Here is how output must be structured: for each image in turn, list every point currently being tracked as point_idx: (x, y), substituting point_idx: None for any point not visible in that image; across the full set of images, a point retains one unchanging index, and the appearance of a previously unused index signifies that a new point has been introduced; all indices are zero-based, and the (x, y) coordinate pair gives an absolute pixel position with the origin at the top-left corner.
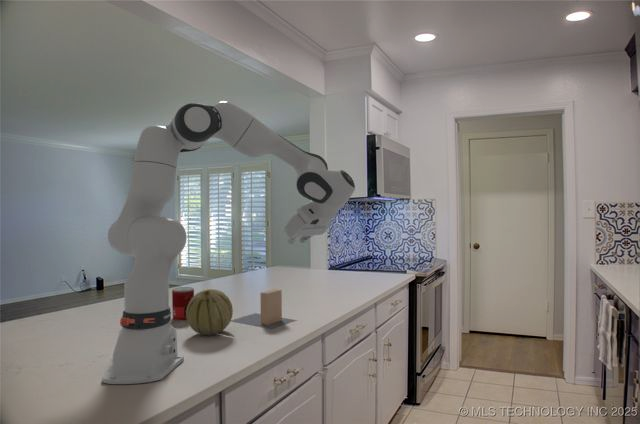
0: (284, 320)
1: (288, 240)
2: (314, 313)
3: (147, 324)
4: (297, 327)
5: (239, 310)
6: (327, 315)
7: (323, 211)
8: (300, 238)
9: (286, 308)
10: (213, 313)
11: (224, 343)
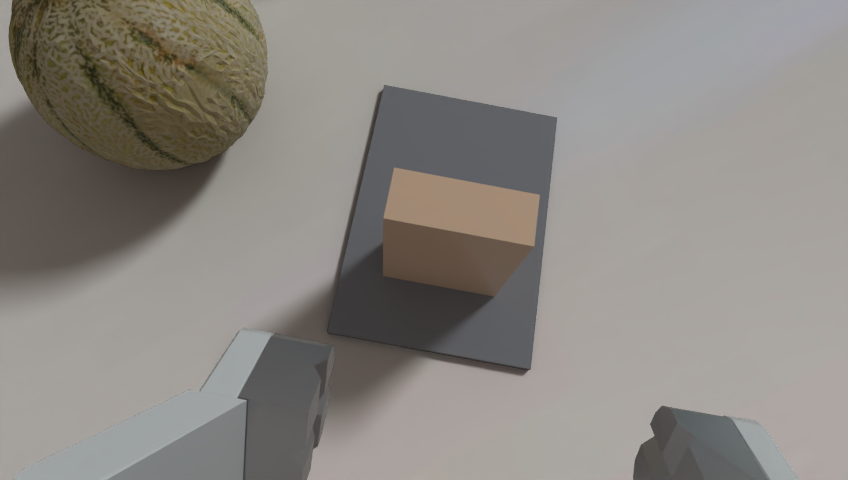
0: (496, 311)
1: (231, 351)
2: (724, 380)
3: None
4: (427, 427)
5: (586, 24)
6: None
7: None
8: (683, 429)
9: (735, 195)
10: (42, 115)
11: (72, 242)
